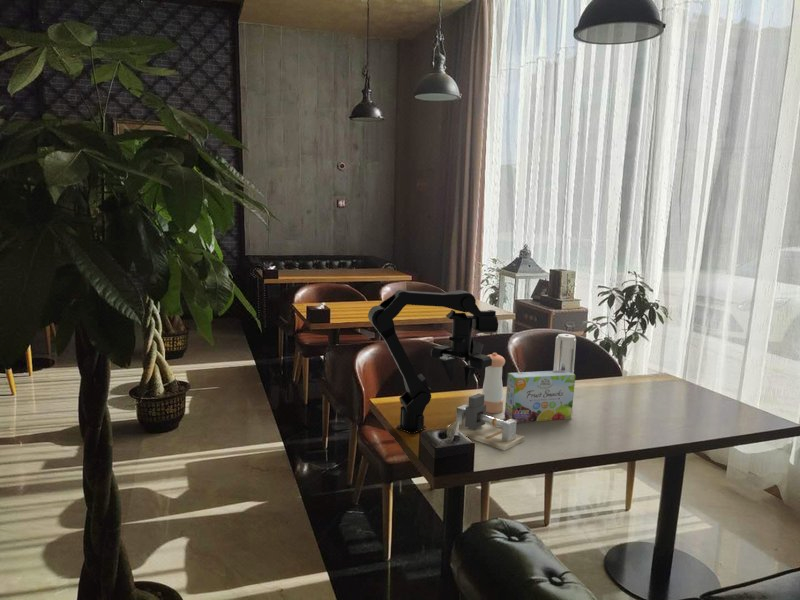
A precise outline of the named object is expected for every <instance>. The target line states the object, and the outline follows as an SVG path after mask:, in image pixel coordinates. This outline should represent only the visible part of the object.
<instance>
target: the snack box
mask: <svg viewBox="0 0 800 600" xmlns="http://www.w3.org/2000/svg"><path fill="white" fill-rule="evenodd" d="M506 379H507V381H506V391H505V392H506V395H505V405H504V407H505V409H504V419H506V421H507V420H509V419H513V420H516V421H517V423H516V424H520V423H531V422H533V423H535V421H536V422H547V421H548V420H550V421H561V419H564V420H571V419H572V415H573V414H572V413H573V407H574V406H573V404H574V403H573V402H574V394H575V383H576V374H575V373H574V374H573V373H571V372H569V371H567V370H560V371H553V370H544V371H543V370H541V371H525V372H524V371H523V372H520V371H519V372H507V378H506ZM548 422H549V421H548Z"/></svg>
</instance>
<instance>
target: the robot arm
mask: <svg viewBox="0 0 800 600" xmlns="http://www.w3.org/2000/svg"><path fill="white" fill-rule="evenodd" d="M405 306H423V307H425V306H426V307H438V308H439V307H441V308H442V307H443V308H445V309H446V308H447V309H450V312H448V313H447V314H446V315H445V317H446V318H448V319H449V320H452V329H451V330H452V332H451V336H449V337H448V340H449V341H451V346H448V345H443V344H442V345H437V346H433V347H432V348H431V350H430V357H432V358H436V359H437V360H438V362H439V363H441V365H442V367H443V370H444V371H445V373H446V374H445V375H446V376H447V379H448V381H449V383H453V382H454V379H455V378H454V377H455V364H456V362H457V360H461V361H464V362H468V364H467V365H464V366H463V371H464V385H465V387H467V388H469V387H470V384H471V382H472V380H473V378H474V376H475V373H476V372H477V370H479V369H481V370H482V369H485V368H486V367H489V366H492V359H491V357H490V356H487V355H488V354H487V355H486V354H482V351H483V348H484V344H482V343H480V342H477V341H475V337H474V336H473V335H472V331H474V332H475V333H476V334H494V333H495V334H496V333H497V332H498V329H499V322H498V321H499V320H498V317H497V315H496V313H497V312H496V310H493V309H488V310H480V308H479V307H478V305H477V300H476V298H475V296H474V295H473V294H472V293H470V292H468V291H466V290H462V289H459V290H450V291H446V292H432V291H431V292H429V291H413V290H404V289H398V290H397V291H395V293H393V294H392V295H390V296H389V297H388V298H386V299H384V300H383V301H381V303H379V304H378V305H374V306H372V307H371V308H370V309H369V311H368V313H367V317H368V320H369V322H370V323H371V324H372V326H373V327H374V329H375V330H376V331H377V333H378V334H379V335H380V336H381V337H382V339H383V341H384V343H385V345H386V346H387V348H388V351H389V352H390V355H391V356H392V359H393V360H394V362H395V364H396V366H397V368H398V370H399V372H400V374H401V376H402V378H403V383H404V387H405V388H404V389H405V392H404V393H403V394H401V395H400V397H399V401H400V402H399V403H400V404H401V406H400V417H399V419H400V423H399V424H397V426H396V429H399V430H401V429H402V430H401V431H403V430H405V431H404V432H406V431H408V432H410V433H409V434H411V433H413V434H415V433H414V432H416V431H418V432H420V431H419V430H421V429H423V430H425V429H424V428H427V426H426V425H424V424H425V423H424V422H425V415H424V411H425V409H426V407H427V405H428V404H429V403H430V402H431V400H432V393H431V392H433V391H432V389H431V388H430V387H429V384H428V381H427V378H425V377H424V375H423V374H422V373H420V374H417V373H416V371H415V369H414V367H413V365H412V363H411V361H410V359H409V357H408V355H407V353H406V350H405V349H404V346H403V344H402V343H401V341H400V339H399V337H398V334H397V332H396V327H395V326H396V325H395V323H394V319H395V318H396V317H397V316H398V315H399V314H400V312H402V310H403V309H404V308H405ZM456 311H458V312H456ZM466 313H468V314H469V315H468V314H466ZM474 354H475V355H474ZM421 431H422V430H421ZM408 432H407V433H408ZM416 433H417V432H416Z"/></svg>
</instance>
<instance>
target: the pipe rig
mask: <svg viewBox="0 0 800 600" xmlns="http://www.w3.org/2000/svg"><path fill="white" fill-rule="evenodd" d="M467 406H469V404H468V405H467V404H462V405H460V406H457V407H456V414H455V415H456V417H455V419H456V421H457V420H458V421H459V426H463V425H465V417H466V407H467ZM477 420H480V421H483V422H485V424H488V425H491V426H494V427H497V428H500V429H502V441H505V442H510V441H511V440H513V439H515V438H516V434H517V424H518V423H517V421H516V420H513V419H509V420H507V419H506V420H502V419H499V418H497V417H492V416H489V415H487V414H486V415H484V414H480V413H477ZM456 421H455V422H456Z"/></svg>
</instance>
